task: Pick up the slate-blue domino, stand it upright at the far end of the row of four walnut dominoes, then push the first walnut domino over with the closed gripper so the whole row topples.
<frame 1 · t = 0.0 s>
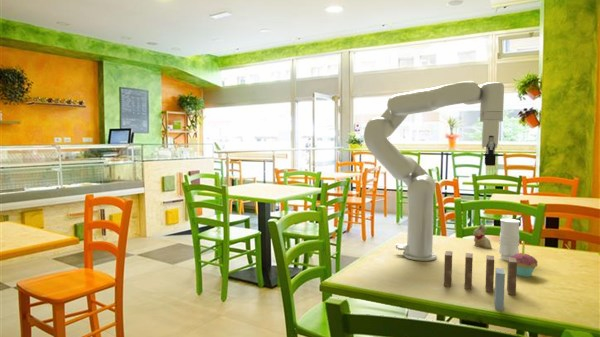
hand: (489, 164, 149), 37 cm above the table, tool pointing down, fingers open, 9 cm apart
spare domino: (498, 306, 113), on the table
candle: (508, 259, 158), on the table
domino 3: (489, 289, 126), on the table
domino 4: (511, 292, 123), on the table
domino 2: (468, 286, 128), on the table
cupcake: (522, 275, 140), on the table
chocolate bunny: (482, 246, 177), on the table
domino 1: (447, 284, 130), on the table
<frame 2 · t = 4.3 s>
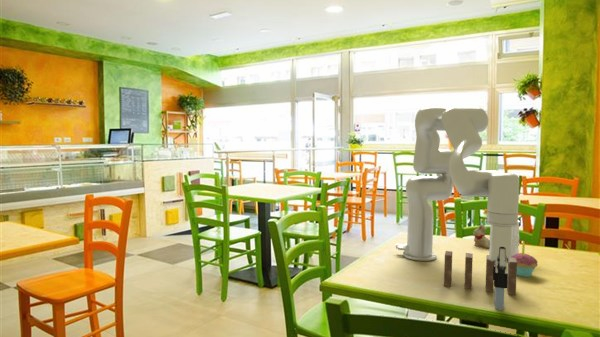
hand: (499, 283, 113), 6 cm above the table, tool pointing down, fingers closed on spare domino, 4 cm apart
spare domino: (498, 306, 113), on the table, touching gripper
everything else where it was.
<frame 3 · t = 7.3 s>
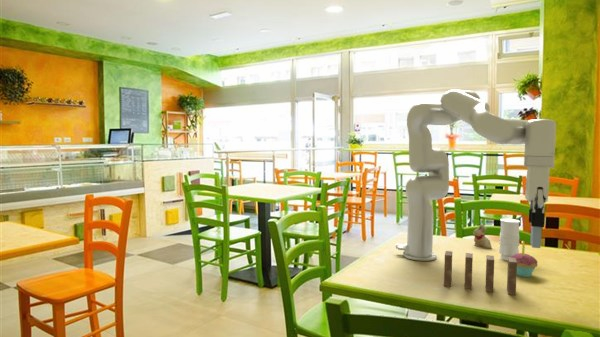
hand: (536, 224, 119), 21 cm above the table, tool pointing down, fingers closed on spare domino, 4 cm apart
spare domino: (535, 245, 120), point 15 cm above the table, touching gripper
everything else where it was.
when the fingers open (7 cm above the table, at t = 10.4 s): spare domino stays where it is, on the table.
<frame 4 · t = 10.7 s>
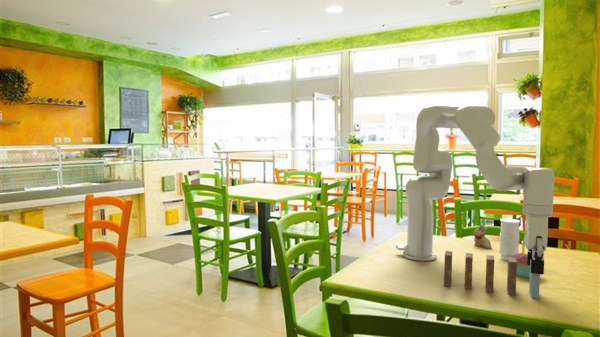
hand: (535, 269, 121), 8 cm above the table, tool pointing down, fingers open, 7 cm apart
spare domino: (533, 295, 121), on the table
everything else where it was.
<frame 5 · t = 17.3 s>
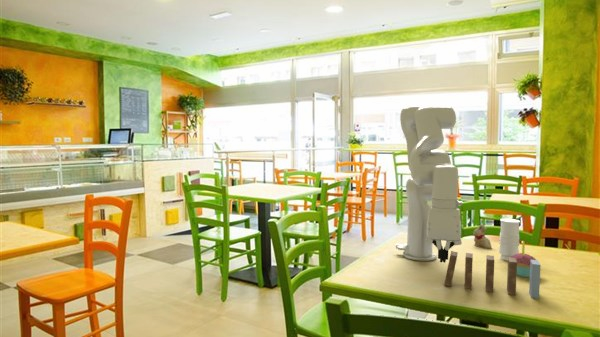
hand: (442, 261, 130), 7 cm above the table, tool pointing down, fingers closed
domino 1: (447, 283, 130), on the table, tilted 9°
everything else where it was.
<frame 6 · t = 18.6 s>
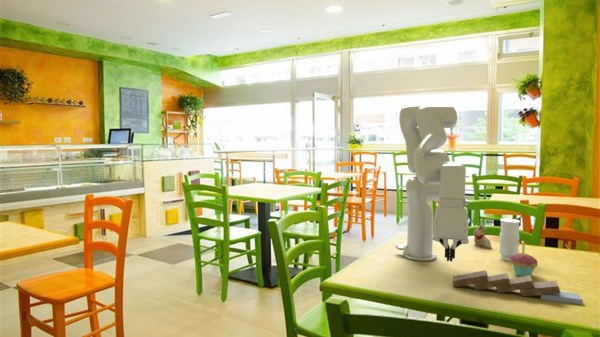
hand: (449, 260, 130), 8 cm above the table, tool pointing down, fingers closed
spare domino: (539, 294, 120), on the table, tilted 90°, touching domino 4
domino 3: (496, 287, 125), point 1 cm above the table, tilted 71°, touching domino 2, domino 4
domino 4: (520, 290, 122), point 1 cm above the table, tilted 74°, touching domino 3, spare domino
domino 2: (474, 284, 127), point 1 cm above the table, tilted 71°, touching domino 1, domino 3
domino 1: (453, 281, 130), point 1 cm above the table, tilted 71°, touching domino 2
everything else where it was.
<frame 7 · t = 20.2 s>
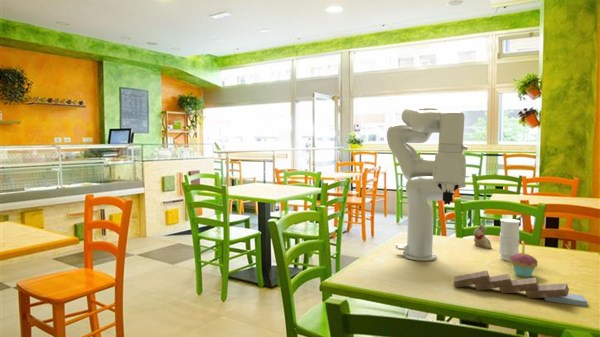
hand: (447, 203, 137), 24 cm above the table, tool pointing down, fingers closed
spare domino: (543, 296, 119), on the table, tilted 90°
domino 3: (500, 287, 125), point 1 cm above the table, tilted 73°, touching domino 2, domino 4
domino 4: (528, 291, 121), point 1 cm above the table, tilted 73°, touching domino 3
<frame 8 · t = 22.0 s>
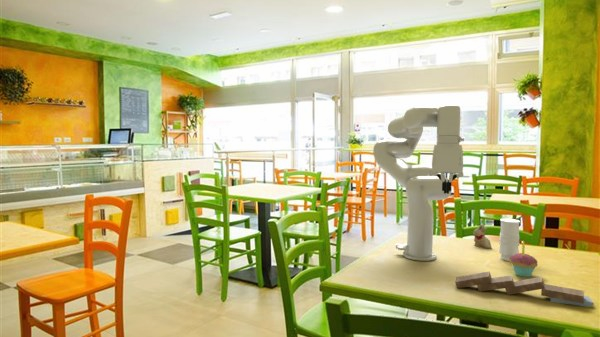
hand: (446, 193, 144), 27 cm above the table, tool pointing down, fingers closed
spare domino: (549, 297, 119), on the table, tilted 90°
domino 3: (506, 288, 124), point 1 cm above the table, tilted 69°, touching domino 2, domino 4
domino 4: (542, 289, 119), point 2 cm above the table, tilted 90°, touching domino 3
at the end: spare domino tilted 90°; domino 1 tilted 71°; domino 3 tilted 69° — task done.
